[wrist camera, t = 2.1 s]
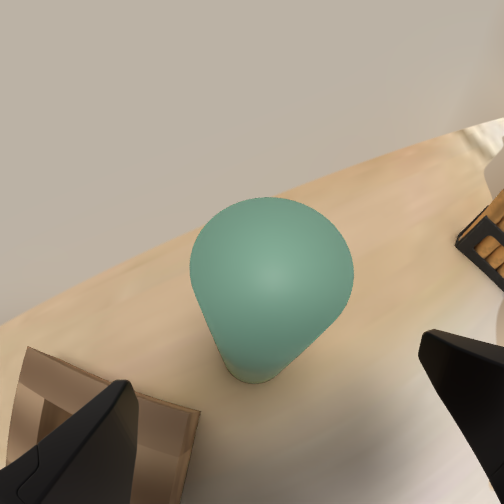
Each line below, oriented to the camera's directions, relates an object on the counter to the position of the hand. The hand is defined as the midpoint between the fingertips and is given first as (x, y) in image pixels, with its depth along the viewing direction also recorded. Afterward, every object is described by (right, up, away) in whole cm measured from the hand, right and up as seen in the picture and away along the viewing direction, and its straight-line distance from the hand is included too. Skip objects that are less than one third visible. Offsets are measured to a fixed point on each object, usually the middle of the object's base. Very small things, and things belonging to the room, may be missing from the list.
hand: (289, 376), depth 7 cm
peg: (-1, -3, +10) cm, 11 cm away
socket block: (-11, -10, +6) cm, 16 cm away
